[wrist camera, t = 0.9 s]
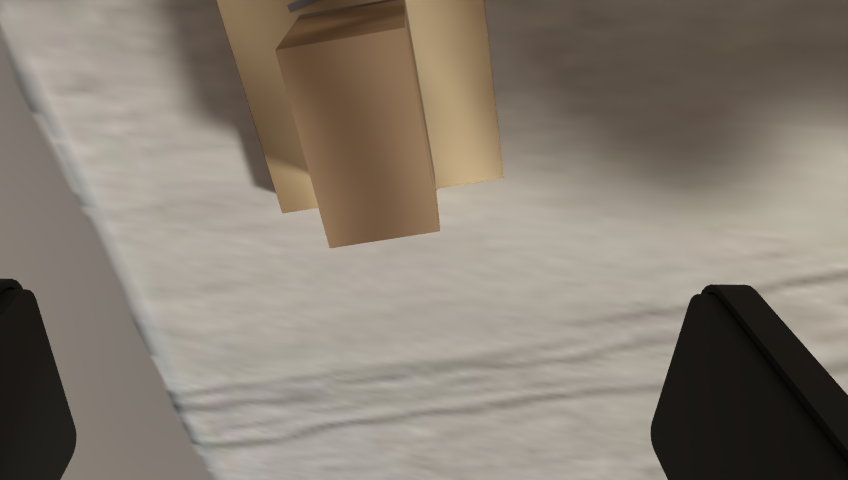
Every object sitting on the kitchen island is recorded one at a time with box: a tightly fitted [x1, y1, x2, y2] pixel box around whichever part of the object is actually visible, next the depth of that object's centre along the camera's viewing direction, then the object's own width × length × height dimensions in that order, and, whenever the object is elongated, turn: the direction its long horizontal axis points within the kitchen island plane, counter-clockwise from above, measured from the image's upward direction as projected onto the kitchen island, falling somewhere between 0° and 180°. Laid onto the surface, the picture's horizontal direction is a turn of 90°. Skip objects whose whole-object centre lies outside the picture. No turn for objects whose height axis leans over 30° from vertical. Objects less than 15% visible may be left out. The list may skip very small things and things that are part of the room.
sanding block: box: [275, 0, 440, 248], centre depth 27 cm, size 4×8×6 cm, turn 9°
